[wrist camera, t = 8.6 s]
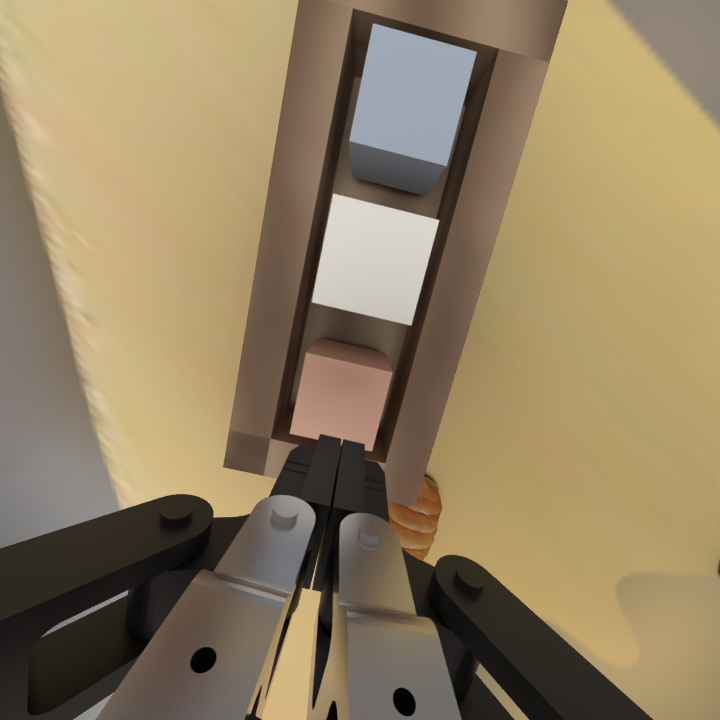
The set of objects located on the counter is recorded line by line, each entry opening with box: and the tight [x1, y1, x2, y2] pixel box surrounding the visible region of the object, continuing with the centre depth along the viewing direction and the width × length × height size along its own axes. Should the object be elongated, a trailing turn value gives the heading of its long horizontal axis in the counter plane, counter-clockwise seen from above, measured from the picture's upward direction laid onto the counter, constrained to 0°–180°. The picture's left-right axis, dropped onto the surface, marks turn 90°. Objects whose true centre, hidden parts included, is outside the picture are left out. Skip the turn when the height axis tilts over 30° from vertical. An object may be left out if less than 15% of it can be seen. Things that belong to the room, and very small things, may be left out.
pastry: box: [388, 477, 442, 560], centre depth 26 cm, size 9×7×4 cm
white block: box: [312, 194, 439, 326], centre depth 17 cm, size 4×4×5 cm
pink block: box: [290, 338, 393, 451], centre depth 20 cm, size 4×4×5 cm
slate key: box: [349, 23, 477, 196], centre depth 17 cm, size 4×4×5 cm
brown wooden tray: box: [223, 0, 568, 507], centre depth 20 cm, size 12×26×6 cm, turn 167°
